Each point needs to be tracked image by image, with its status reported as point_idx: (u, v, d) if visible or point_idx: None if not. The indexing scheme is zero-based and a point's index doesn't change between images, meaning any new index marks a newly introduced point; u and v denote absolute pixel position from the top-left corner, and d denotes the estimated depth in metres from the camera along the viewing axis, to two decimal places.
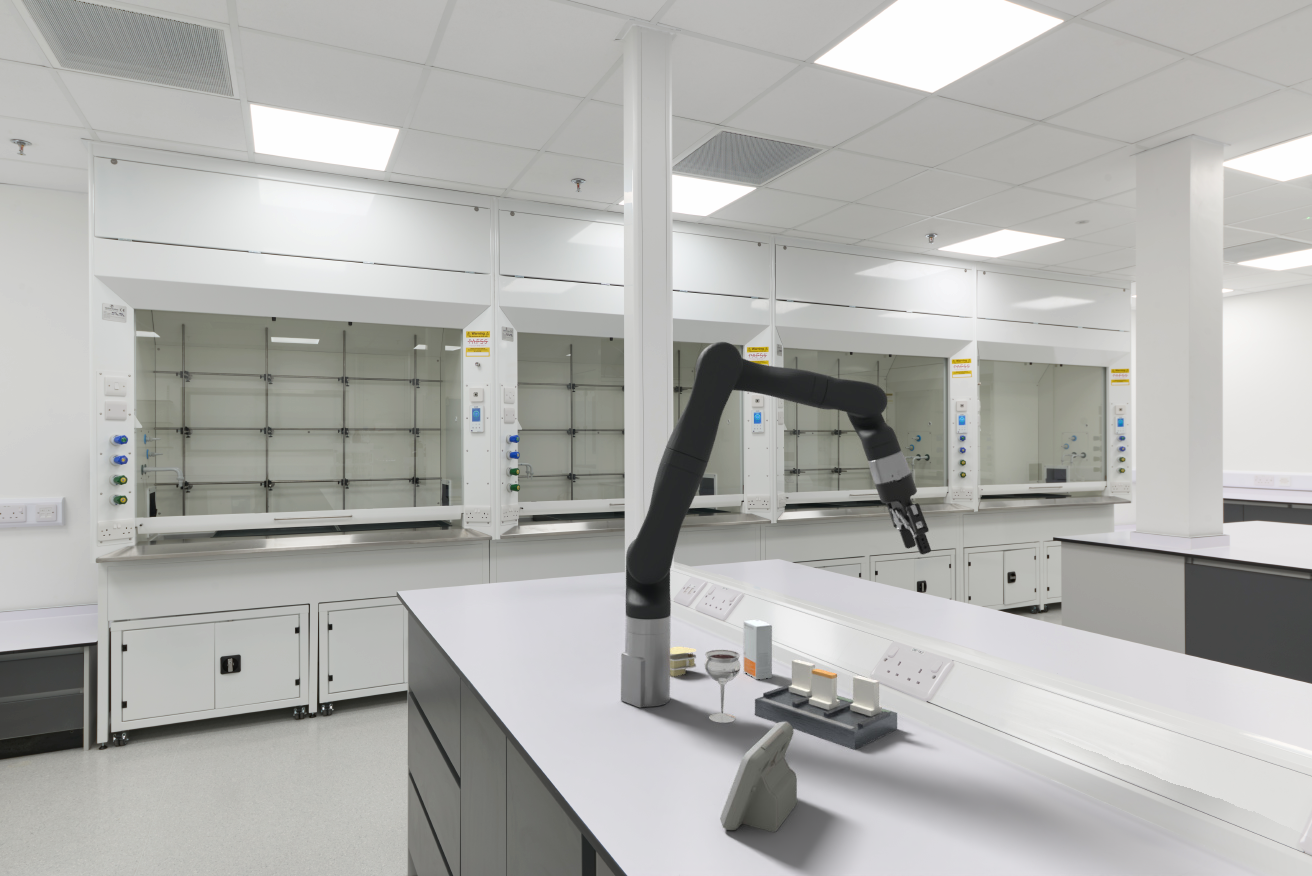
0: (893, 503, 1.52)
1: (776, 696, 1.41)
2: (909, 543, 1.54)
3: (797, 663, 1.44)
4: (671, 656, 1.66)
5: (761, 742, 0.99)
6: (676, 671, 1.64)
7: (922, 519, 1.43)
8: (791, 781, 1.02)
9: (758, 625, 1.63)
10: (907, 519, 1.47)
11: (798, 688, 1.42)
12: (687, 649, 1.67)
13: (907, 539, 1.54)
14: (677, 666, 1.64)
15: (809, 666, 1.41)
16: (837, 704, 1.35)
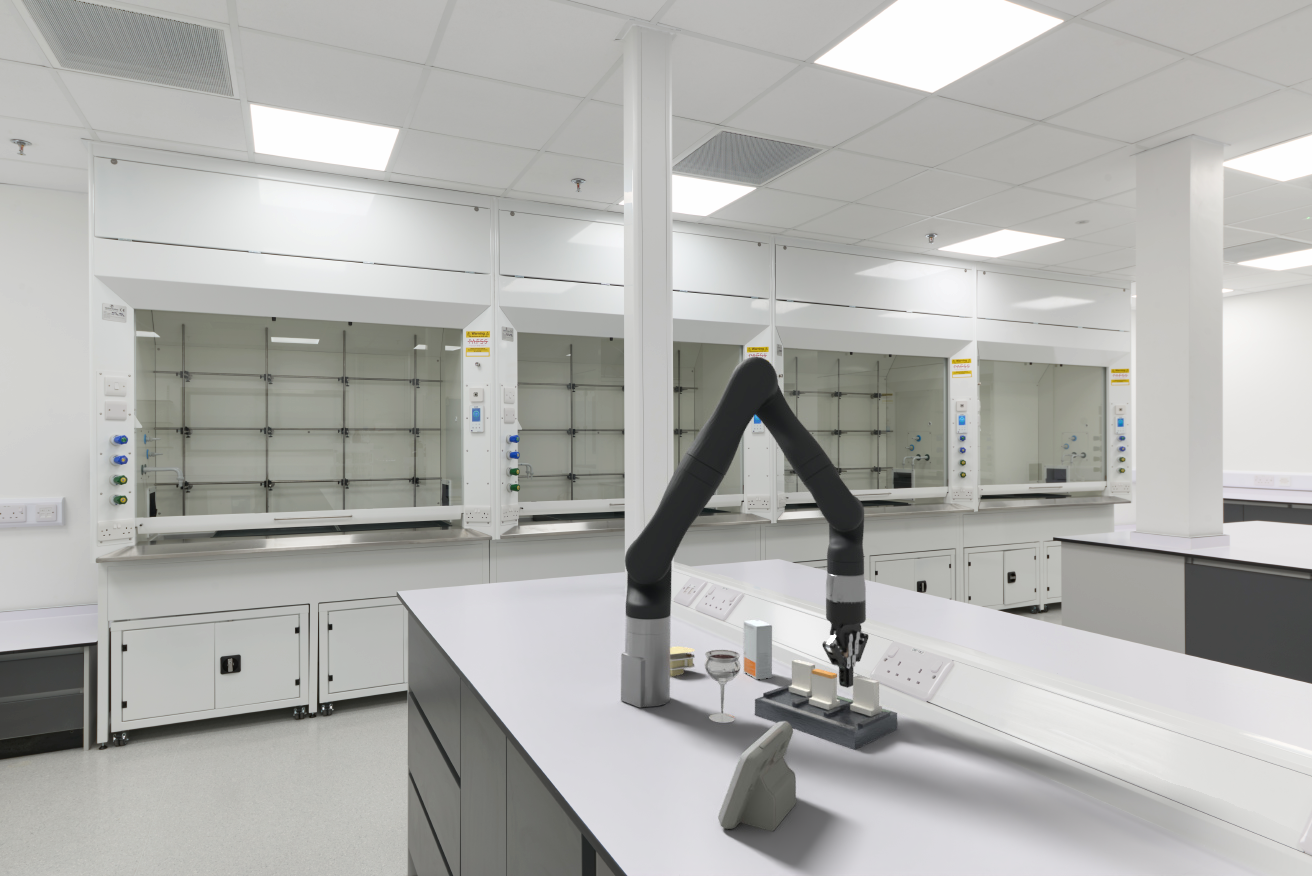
0: None
1: (776, 696, 1.41)
2: None
3: (797, 663, 1.44)
4: None
5: (759, 741, 1.00)
6: (674, 671, 1.64)
7: (836, 658, 1.38)
8: (790, 780, 1.02)
9: (758, 625, 1.63)
10: None
11: (798, 688, 1.42)
12: (686, 649, 1.67)
13: None
14: (675, 666, 1.64)
15: (809, 666, 1.41)
16: (837, 704, 1.35)
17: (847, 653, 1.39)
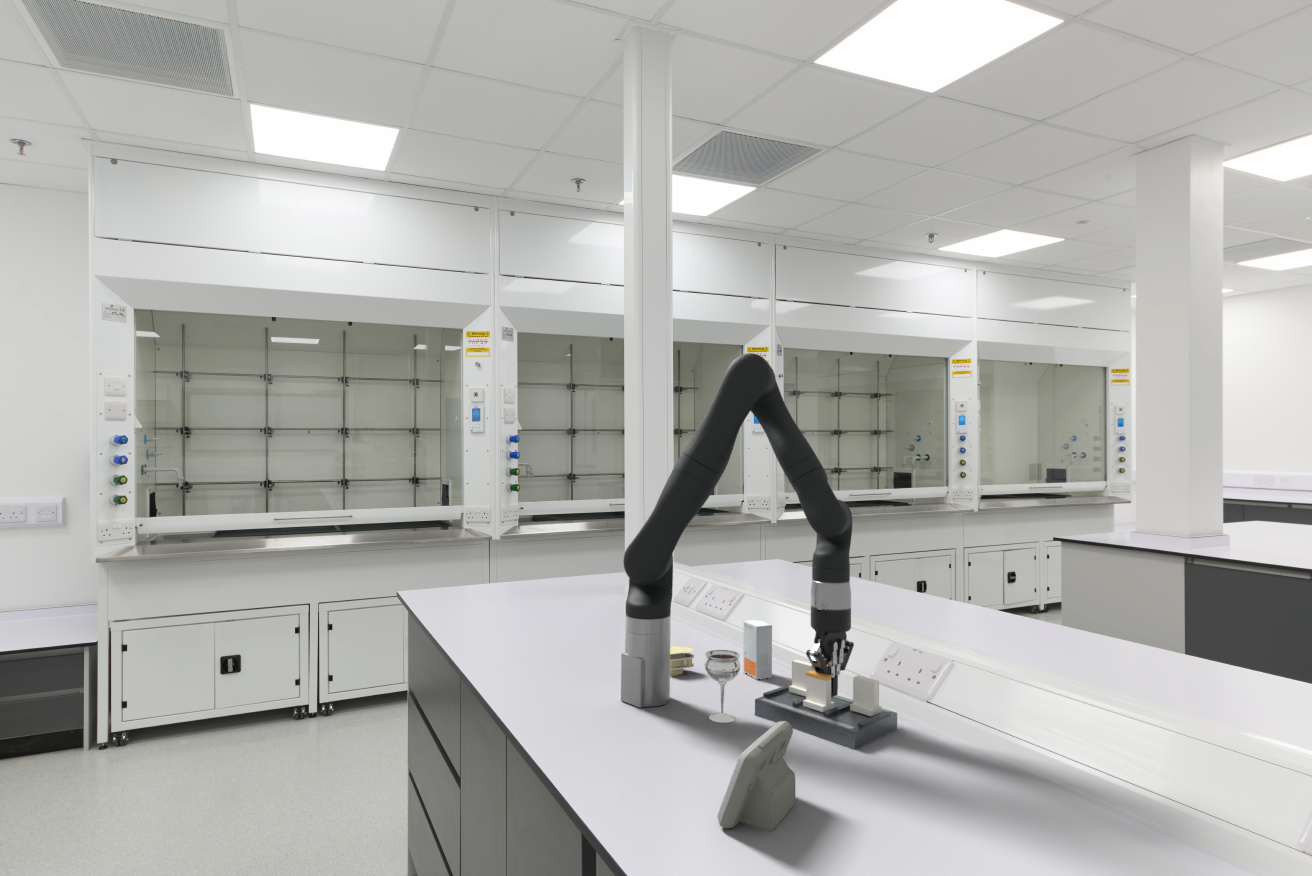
0: None
1: (776, 696, 1.41)
2: None
3: (797, 663, 1.44)
4: None
5: (759, 741, 1.00)
6: (674, 671, 1.64)
7: (820, 667, 1.34)
8: (789, 780, 1.02)
9: (758, 625, 1.63)
10: None
11: (798, 688, 1.42)
12: (685, 649, 1.67)
13: None
14: (675, 666, 1.64)
15: (809, 666, 1.41)
16: (831, 707, 1.34)
17: (831, 662, 1.36)
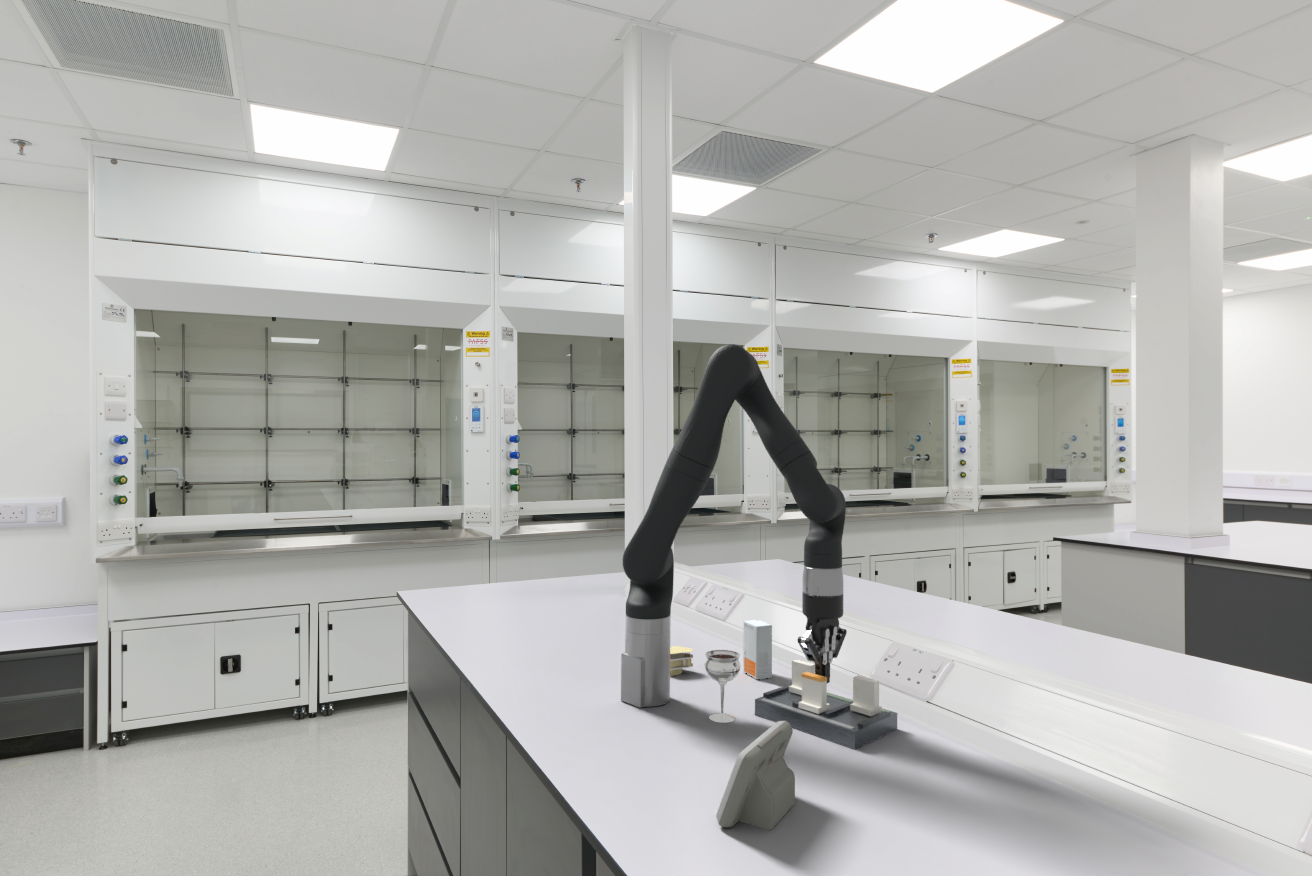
0: None
1: (776, 696, 1.41)
2: None
3: (797, 663, 1.44)
4: None
5: (758, 740, 1.00)
6: (673, 671, 1.64)
7: (812, 654, 1.32)
8: (789, 780, 1.02)
9: (758, 625, 1.63)
10: None
11: (798, 688, 1.42)
12: (684, 649, 1.67)
13: None
14: (674, 666, 1.64)
15: (809, 666, 1.41)
16: (827, 708, 1.33)
17: (823, 649, 1.34)
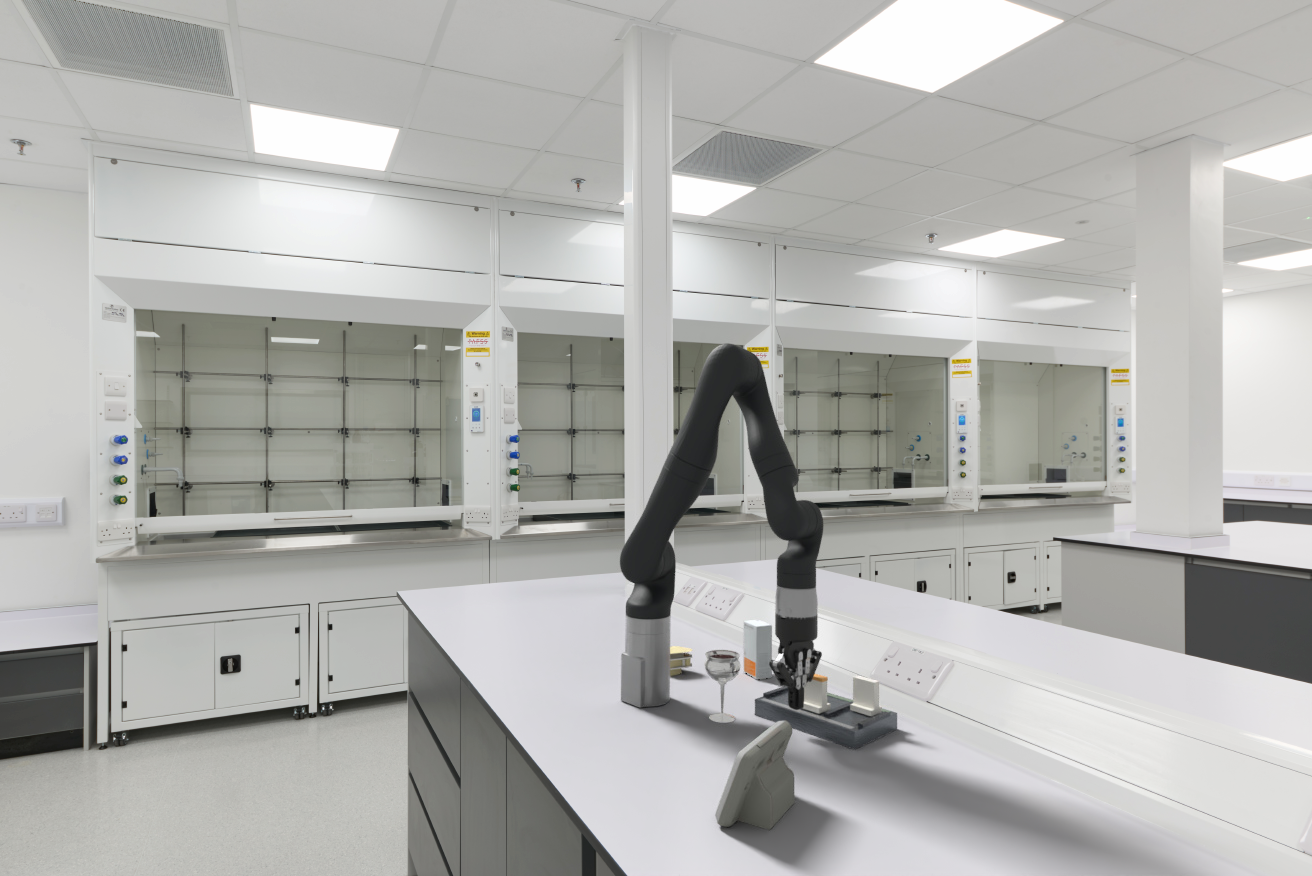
0: None
1: (776, 696, 1.41)
2: None
3: None
4: None
5: (757, 740, 1.00)
6: (672, 671, 1.64)
7: (784, 678, 1.27)
8: (788, 780, 1.02)
9: (758, 625, 1.63)
10: None
11: None
12: (683, 649, 1.67)
13: None
14: (673, 666, 1.64)
15: None
16: (828, 708, 1.33)
17: (796, 673, 1.28)
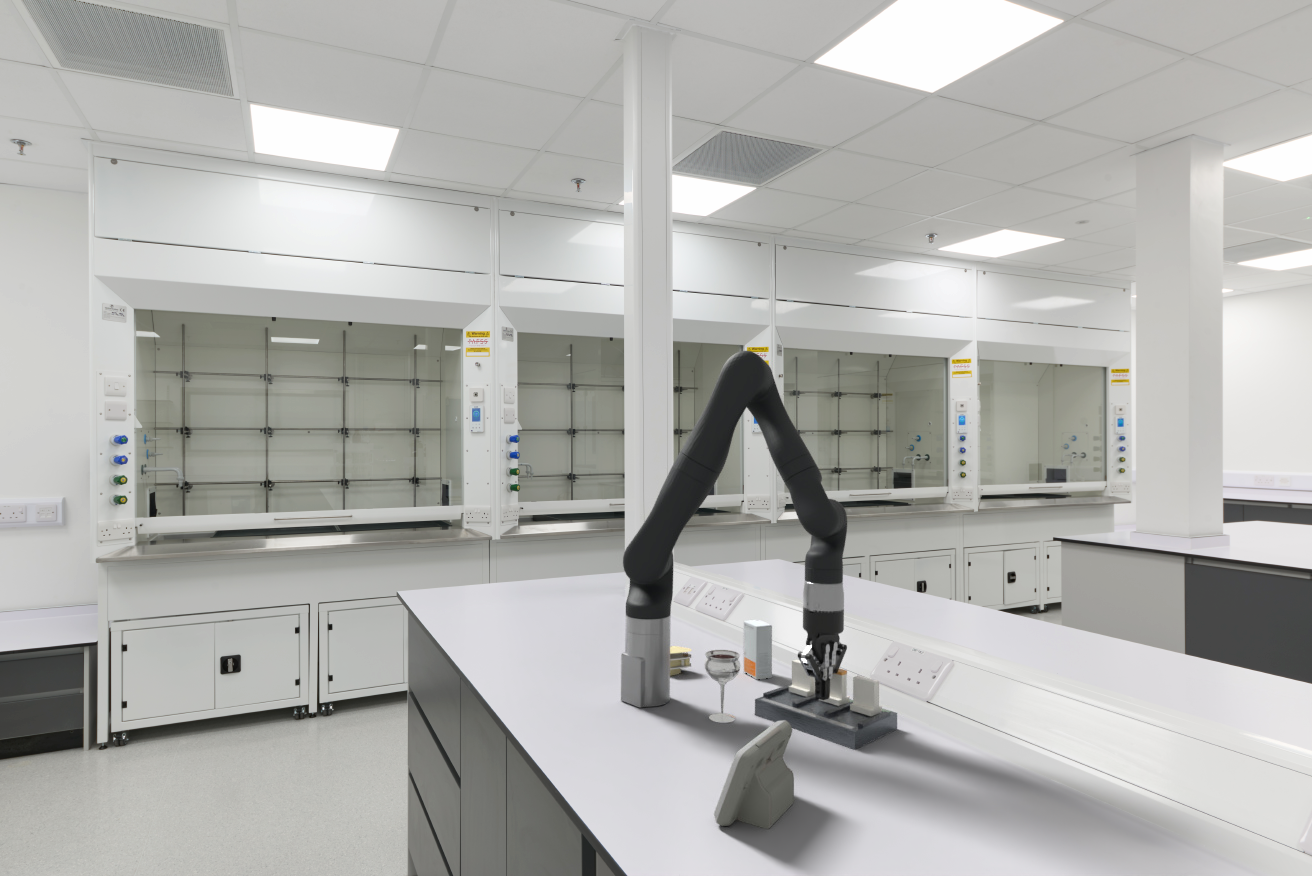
0: None
1: (776, 696, 1.41)
2: None
3: (797, 663, 1.44)
4: None
5: (756, 740, 1.00)
6: (671, 670, 1.64)
7: (812, 669, 1.32)
8: (787, 779, 1.02)
9: (758, 625, 1.63)
10: None
11: (798, 688, 1.42)
12: (682, 649, 1.67)
13: None
14: (672, 665, 1.64)
15: None
16: (847, 700, 1.37)
17: (823, 664, 1.34)
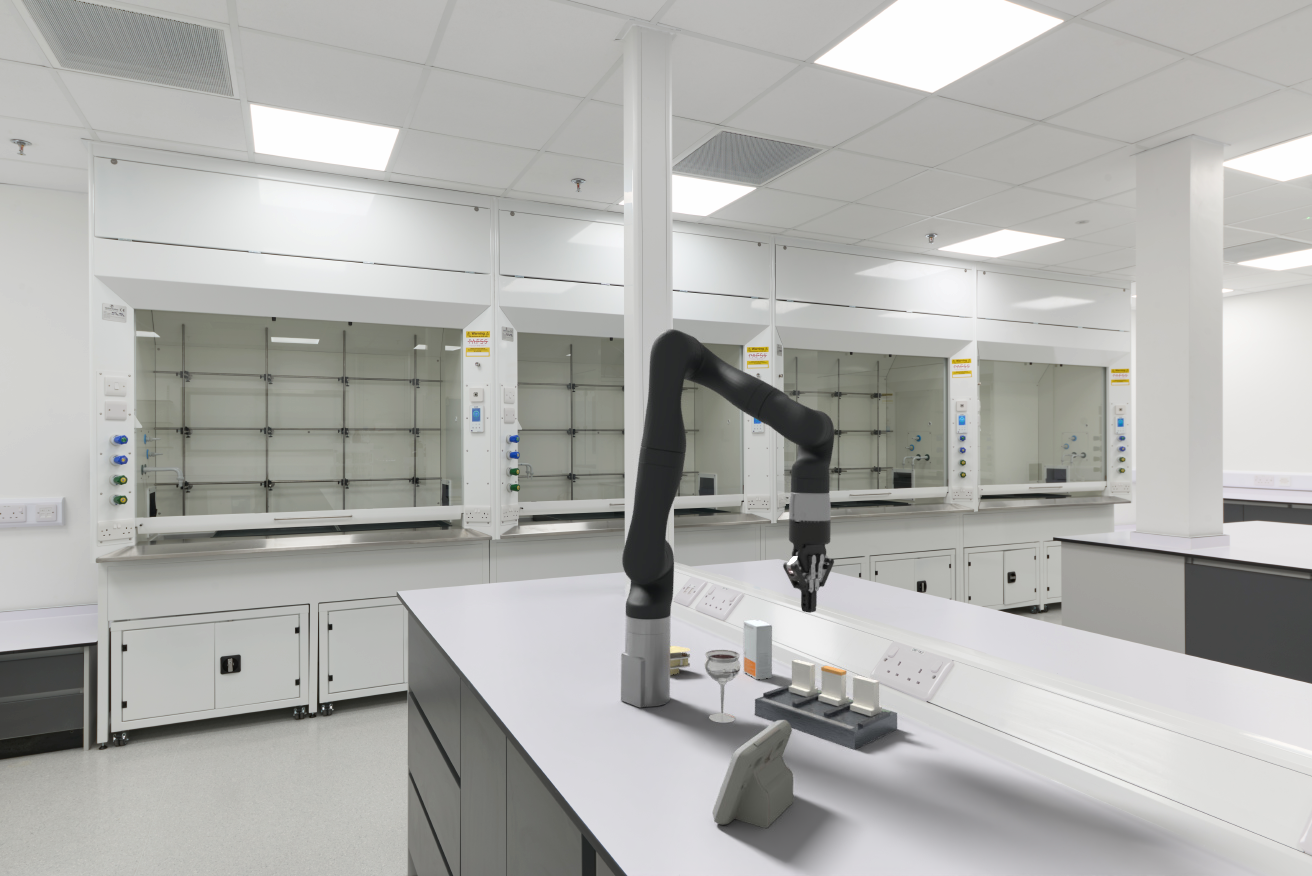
0: None
1: (776, 696, 1.41)
2: None
3: (797, 663, 1.44)
4: None
5: (755, 739, 1.00)
6: (670, 670, 1.64)
7: (798, 580, 1.30)
8: (786, 779, 1.02)
9: (758, 625, 1.63)
10: None
11: (798, 688, 1.42)
12: (681, 648, 1.68)
13: None
14: (671, 665, 1.65)
15: (809, 666, 1.41)
16: (846, 701, 1.37)
17: (810, 576, 1.31)
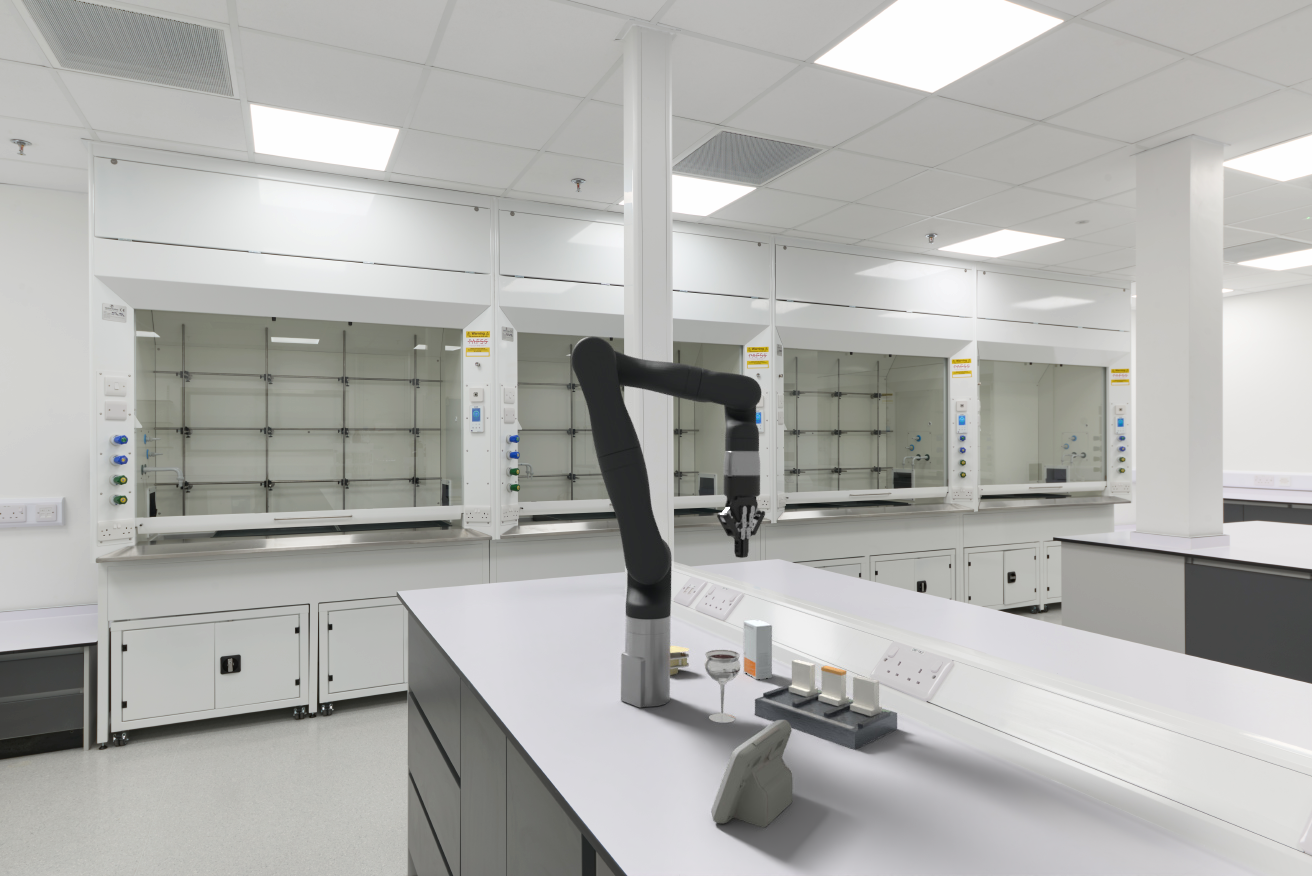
0: None
1: (776, 696, 1.41)
2: None
3: (797, 663, 1.44)
4: None
5: (754, 738, 1.01)
6: None
7: (730, 528, 1.46)
8: (785, 778, 1.02)
9: (758, 625, 1.63)
10: None
11: (798, 688, 1.42)
12: (680, 648, 1.68)
13: None
14: None
15: (809, 666, 1.41)
16: (846, 701, 1.37)
17: (741, 524, 1.48)
